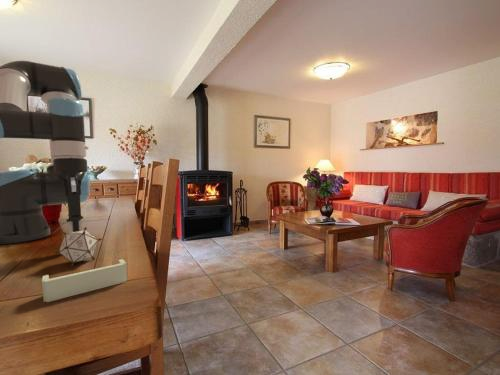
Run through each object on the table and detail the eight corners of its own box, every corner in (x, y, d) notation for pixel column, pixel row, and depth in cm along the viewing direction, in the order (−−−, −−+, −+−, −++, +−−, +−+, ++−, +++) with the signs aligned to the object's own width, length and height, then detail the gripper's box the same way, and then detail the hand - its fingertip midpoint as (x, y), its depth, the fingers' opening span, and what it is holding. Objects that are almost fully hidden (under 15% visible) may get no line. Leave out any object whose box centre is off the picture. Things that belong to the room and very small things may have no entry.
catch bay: (44, 295, 45) (42, 275, 45) (123, 275, 53) (122, 259, 53) (43, 303, 43) (41, 282, 42) (127, 281, 50) (126, 263, 50)
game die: (83, 274, 65) (95, 236, 70) (100, 267, 60) (112, 227, 66) (42, 265, 59) (59, 225, 64) (57, 258, 54) (74, 215, 60)
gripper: (89, 156, 67) (95, 246, 69) (84, 159, 78) (90, 237, 79) (52, 156, 63) (60, 252, 64) (53, 159, 73) (59, 241, 75)
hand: (76, 243), depth 72 cm, fingers closed
